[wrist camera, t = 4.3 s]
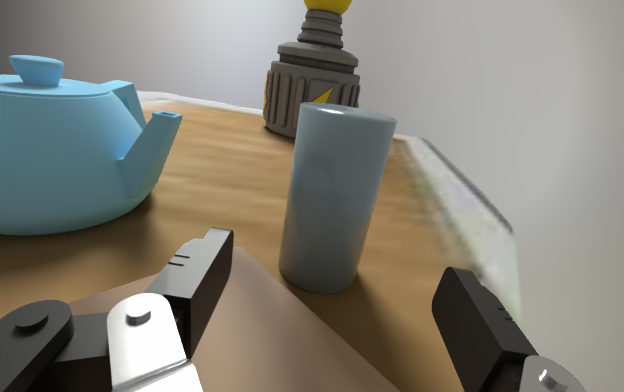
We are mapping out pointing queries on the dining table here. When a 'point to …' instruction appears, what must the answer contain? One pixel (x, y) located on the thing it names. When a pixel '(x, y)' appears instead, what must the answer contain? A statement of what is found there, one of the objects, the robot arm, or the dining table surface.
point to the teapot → (74, 149)
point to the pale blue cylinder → (332, 193)
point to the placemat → (262, 338)
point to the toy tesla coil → (311, 69)
